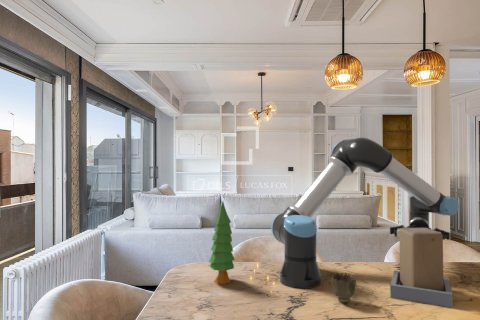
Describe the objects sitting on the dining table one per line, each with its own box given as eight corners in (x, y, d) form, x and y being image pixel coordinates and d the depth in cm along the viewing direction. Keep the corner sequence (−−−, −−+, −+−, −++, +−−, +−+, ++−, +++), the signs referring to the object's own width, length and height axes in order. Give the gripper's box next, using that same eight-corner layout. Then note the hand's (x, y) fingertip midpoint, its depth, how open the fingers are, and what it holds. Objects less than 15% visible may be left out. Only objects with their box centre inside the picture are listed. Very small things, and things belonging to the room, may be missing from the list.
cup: (353, 308, 100) (353, 281, 100) (328, 303, 104) (328, 277, 104) (359, 300, 106) (358, 274, 106) (335, 295, 110) (335, 271, 110)
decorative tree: (218, 287, 118) (218, 201, 119) (203, 280, 125) (203, 199, 126) (240, 281, 124) (239, 199, 125) (224, 274, 131) (224, 198, 132)
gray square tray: (390, 297, 108) (390, 285, 108) (394, 281, 123) (393, 270, 123) (452, 307, 100) (452, 294, 100) (448, 289, 115) (448, 277, 115)
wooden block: (445, 296, 107) (444, 232, 107) (413, 296, 107) (412, 232, 107) (427, 284, 117) (426, 227, 117) (398, 284, 117) (398, 227, 117)
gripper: (454, 240, 134) (459, 251, 116) (386, 233, 146) (381, 243, 128) (454, 221, 135) (459, 229, 116) (386, 216, 146) (381, 223, 128)
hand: (418, 236), depth 122 cm, fingers open, 13 cm apart
